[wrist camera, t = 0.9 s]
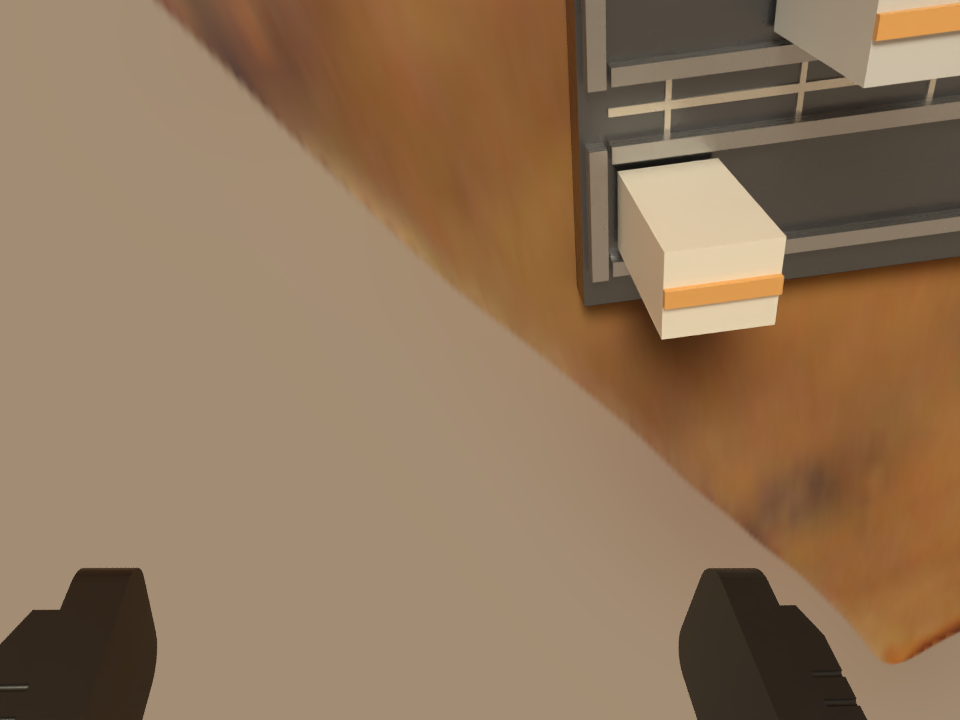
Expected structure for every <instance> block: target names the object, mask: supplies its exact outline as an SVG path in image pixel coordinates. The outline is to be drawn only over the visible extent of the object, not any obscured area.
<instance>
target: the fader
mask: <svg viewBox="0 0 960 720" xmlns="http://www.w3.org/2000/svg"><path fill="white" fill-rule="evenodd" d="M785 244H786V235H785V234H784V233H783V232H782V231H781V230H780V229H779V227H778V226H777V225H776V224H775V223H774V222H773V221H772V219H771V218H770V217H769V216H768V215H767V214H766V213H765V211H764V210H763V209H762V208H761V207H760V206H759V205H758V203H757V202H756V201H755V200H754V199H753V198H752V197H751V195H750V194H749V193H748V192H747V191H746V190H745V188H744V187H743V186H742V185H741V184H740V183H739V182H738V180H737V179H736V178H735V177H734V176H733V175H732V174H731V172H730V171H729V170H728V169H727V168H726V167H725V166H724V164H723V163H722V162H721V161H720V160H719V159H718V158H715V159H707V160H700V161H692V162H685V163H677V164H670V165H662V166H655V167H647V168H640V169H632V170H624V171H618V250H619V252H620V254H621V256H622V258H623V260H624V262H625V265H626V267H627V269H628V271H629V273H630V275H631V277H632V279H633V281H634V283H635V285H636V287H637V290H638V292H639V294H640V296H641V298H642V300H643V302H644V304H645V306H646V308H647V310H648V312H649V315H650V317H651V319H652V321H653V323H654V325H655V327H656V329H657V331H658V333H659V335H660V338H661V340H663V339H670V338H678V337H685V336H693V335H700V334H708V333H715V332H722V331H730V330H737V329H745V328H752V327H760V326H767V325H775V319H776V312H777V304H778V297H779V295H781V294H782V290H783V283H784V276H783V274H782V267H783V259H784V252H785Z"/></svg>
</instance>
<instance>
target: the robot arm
mask: <svg viewBox="0 0 960 720" xmlns="http://www.w3.org/2000/svg"><path fill="white" fill-rule="evenodd" d="M156 656H157V638H156V631H155V626H154V622H153V617H152V612H151V608H150V604H149V599H148V594H147V589H146V585H145V580H144V576H143V573H142V570H141V569H139V568H82V569H80V570H79V571H78V572H77V573H76V574H75V576H74V578H73V580H72V582H71V584H70V587H69V589H68V592H67V594H66V597H65V599H64V601H63V604H62V606H61V609H60V610H32V612H31V613H30V614H29V615H28V616H27V617H26V618H25V619H24V620H23V621H22V622H21V623H20V624H19V625H18V626H17V627H16V628H15V629H14V631H12V633H11V634H10V635H9V636H8V637H7V638H6V639H5V640H4V641H3V642H2V643H1V644H0V720H142V719H143V715H144V711H145V708H146V704H147V700H148V697H149V693H150V689H151V686H152V682H153V677H154V673H155V666H156ZM679 659H680V665H681V670H682V673H683V677H684V680H685V683H686V686H687V689H688V692H689V695H690V698H691V701H692V705H693V708H694V711H695V714H696V717H697V720H867V718H866V717H865V715H864V713H863V711H862V709H861V707H860V706H857V704H856V697H855V695H854V693H853V691H852V689H851V687H850V685H849V683H848V681H847V679H846V677H843V676H842V674H841V671H842V669H841V667H840V666H839V664H838V662H837V660H836V658H835V656H834V654H833V652H832V650H831V648H830V646H829V644H828V642H827V640H826V638H825V636H824V635H823V634H822V633H821V632H820V631H819V629H817V627H816V626H815V625H814V624H813V623H812V622H811V621H810V620H809V619H808V618H807V617H806V616H805V615H804V614H803V613H802V612H801V611H800V610H799V609H798V607H797V606H796V605H788V606H786V605H784V606H780V605H779V603H778V601H777V599H776V597H775V595H774V593H773V591H772V589H771V587H770V585H769V582H768V580H767V578H766V577H765V575H764V574H763V573H762V572H761V571H760V570H758V569H755V568H718V569H717V568H709V569H706V570H705V571H704V572H703V574H702V576H701V578H700V581H699V584H698V586H697V589H696V591H695V594H694V597H693V599H692V602H691V604H690V607H689V610H688V612H687V615H686V618H685V620H684V623H683V625H682V628H681V631H680V636H679Z"/></svg>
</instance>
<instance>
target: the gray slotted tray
mask: <svg viewBox="0 0 960 720" xmlns="http://www.w3.org/2000/svg"><path fill="white" fill-rule="evenodd" d="M776 5H777V0H566V17H567V43H568V68H569V94H570V119H571V145H572V170H573V196H574V221H575V246H576V272H577V287H578V290H579V293H580V295H581V298H582V301H583V304H584V306H591V305H599V304H606V303H614V302H621V301H629V300H636V299H642V298H641V296H640V294H639V292H638V290H637V287H636V285H635V283H634V281H633V279H632V277H631V275H630V273H629V271H628V269H627V267H626V265H625V262H624V260H623V258H622V256H621V254H620V252H619V250H618V171H624V170H632V169H640V168H647V167H655V166H662V165H670V164H677V163H685V162H692V161H700V160H707V159H715V158H718V159H719V160H720V161H721V162H722V163H723V164H724V166H725V167H726V168H727V169H728V170H729V171H730V172H731V174H732V175H733V176H734V177H735V178H736V179H737V180H738V182H739V183H740V184H741V185H742V186H743V187H744V188H745V190H746V191H747V192H748V193H749V194H750V195H751V197H752V198H753V199H754V200H755V201H756V202H757V203H758V205H759V206H760V207H761V208H762V209H763V210H764V211H765V213H766V214H767V215H768V216H769V217H770V218H771V219H772V221H773V222H774V223H775V224H776V225H777V226H778V227H779V229H780V230H781V231H782V232H783V233H784V234H785V235H786V244H785V252H784V259H783V267H782V274H783V276H784V280H786V279H793V278H801V277H808V276H816V275H823V274H831V273H838V272H846V271H853V270H860V269H868V268H875V267H883V266H890V265H898V264H905V263H913V262H920V261H928V260H935V259H943V258H950V257H958V256H960V75H959V76H952V77H944V78H937V79H929V80H922V81H914V82H907V83H899V84H891V85H884V86H876V87H869V88H862V87H861V86H859V85H858V84H856V83H855V82H853V81H851V80H850V79H848V78H847V77H845V76H844V75H842V74H840V73H839V72H837V71H836V70H834V69H833V68H831V67H829V66H828V65H826V64H825V63H823V62H821V61H820V60H818V59H817V58H815V57H814V56H812V55H810V54H809V53H807V52H806V51H804V50H803V49H801V48H799V47H798V46H796V45H795V44H793V43H792V42H790V41H788V40H787V39H785V38H784V37H782V36H781V35H779V34H777V33H776V32H774V24H775V14H776Z"/></svg>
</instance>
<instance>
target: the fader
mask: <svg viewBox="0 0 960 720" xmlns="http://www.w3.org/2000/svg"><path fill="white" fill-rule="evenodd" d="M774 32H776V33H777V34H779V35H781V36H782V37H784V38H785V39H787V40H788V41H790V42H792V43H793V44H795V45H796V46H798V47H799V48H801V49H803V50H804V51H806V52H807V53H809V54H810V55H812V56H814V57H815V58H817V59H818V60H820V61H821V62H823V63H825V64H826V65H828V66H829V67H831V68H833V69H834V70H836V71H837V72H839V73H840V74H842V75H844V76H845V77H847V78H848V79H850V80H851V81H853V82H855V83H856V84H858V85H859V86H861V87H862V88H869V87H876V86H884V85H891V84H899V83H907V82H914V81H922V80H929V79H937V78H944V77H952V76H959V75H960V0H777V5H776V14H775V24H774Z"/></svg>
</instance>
